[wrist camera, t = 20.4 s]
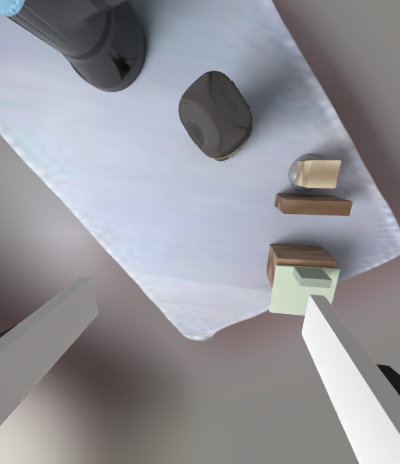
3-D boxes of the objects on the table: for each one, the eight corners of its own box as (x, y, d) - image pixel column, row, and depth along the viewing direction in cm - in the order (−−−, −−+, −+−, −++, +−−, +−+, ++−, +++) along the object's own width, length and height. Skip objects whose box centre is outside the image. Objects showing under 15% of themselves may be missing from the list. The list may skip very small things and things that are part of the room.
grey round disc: (291, 154, 40) (292, 154, 39) (328, 154, 39) (329, 154, 38) (286, 189, 42) (287, 190, 41) (321, 190, 41) (322, 190, 41)
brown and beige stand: (276, 194, 42) (285, 200, 35) (331, 195, 41) (352, 201, 34) (266, 272, 48) (273, 290, 41) (314, 276, 47) (329, 295, 40)
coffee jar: (190, 129, 41) (162, 101, 23) (221, 100, 38) (216, 45, 21) (218, 168, 42) (211, 169, 25) (249, 143, 40) (267, 124, 23)
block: (298, 161, 40) (312, 160, 33) (322, 161, 39) (341, 160, 32) (294, 184, 41) (307, 187, 34) (317, 184, 40) (335, 188, 34)
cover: (275, 264, 39) (282, 276, 35) (338, 268, 38) (353, 281, 33) (269, 310, 43) (274, 326, 38) (326, 315, 41) (338, 332, 37)
